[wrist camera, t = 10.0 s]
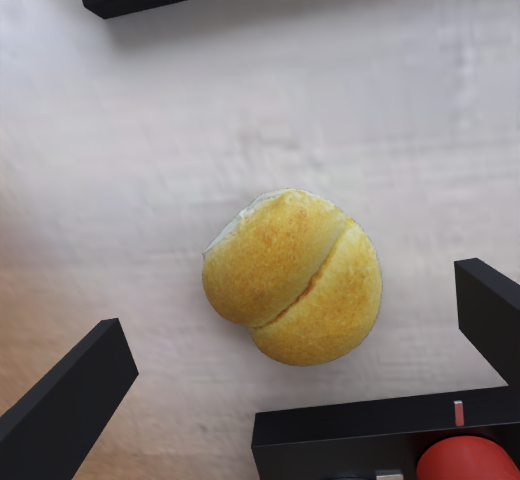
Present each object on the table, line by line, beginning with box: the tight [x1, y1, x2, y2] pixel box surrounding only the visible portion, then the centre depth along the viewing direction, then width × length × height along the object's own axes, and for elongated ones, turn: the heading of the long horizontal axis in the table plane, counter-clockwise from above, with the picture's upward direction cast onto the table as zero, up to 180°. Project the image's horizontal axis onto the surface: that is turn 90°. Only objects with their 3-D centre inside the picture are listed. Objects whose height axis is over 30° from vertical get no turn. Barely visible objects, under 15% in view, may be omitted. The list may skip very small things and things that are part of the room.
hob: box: [251, 386, 520, 480], centre depth 20 cm, size 22×12×3 cm, turn 103°
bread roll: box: [202, 188, 382, 366], centre depth 17 cm, size 8×9×4 cm
